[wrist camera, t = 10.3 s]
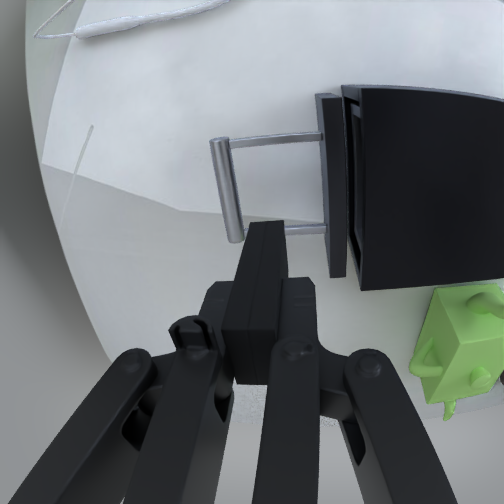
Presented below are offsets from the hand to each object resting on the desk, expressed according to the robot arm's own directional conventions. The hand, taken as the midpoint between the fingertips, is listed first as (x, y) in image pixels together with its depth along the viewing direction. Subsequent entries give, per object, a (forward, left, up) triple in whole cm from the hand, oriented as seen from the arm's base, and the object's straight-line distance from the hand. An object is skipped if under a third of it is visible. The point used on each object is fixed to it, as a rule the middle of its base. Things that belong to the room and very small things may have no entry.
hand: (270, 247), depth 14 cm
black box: (0, -13, -13) cm, 19 cm away
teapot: (-18, -19, -13) cm, 30 cm away
